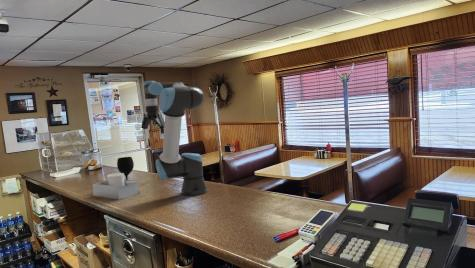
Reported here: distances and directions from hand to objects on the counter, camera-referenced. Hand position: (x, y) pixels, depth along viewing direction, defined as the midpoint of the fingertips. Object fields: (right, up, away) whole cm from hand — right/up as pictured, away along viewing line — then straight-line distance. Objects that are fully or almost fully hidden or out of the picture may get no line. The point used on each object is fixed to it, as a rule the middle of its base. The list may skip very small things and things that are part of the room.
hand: (154, 138), depth 209 cm
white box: (-20, -34, -11) cm, 40 cm away
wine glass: (-20, -33, +9) cm, 39 cm away
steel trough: (-20, -34, -10) cm, 41 cm away
